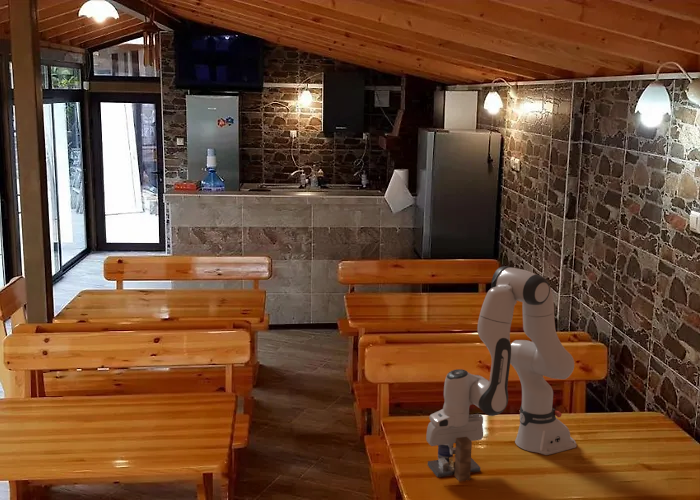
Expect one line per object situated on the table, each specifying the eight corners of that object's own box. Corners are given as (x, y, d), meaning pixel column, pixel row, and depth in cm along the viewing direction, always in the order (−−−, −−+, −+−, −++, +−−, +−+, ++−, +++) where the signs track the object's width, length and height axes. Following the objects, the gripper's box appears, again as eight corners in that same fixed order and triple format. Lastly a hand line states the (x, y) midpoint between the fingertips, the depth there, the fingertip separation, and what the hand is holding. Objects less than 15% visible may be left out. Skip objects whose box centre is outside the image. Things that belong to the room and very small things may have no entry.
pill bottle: (452, 462, 269) (453, 437, 267) (437, 461, 270) (438, 435, 268) (453, 456, 274) (454, 430, 272) (438, 454, 275) (439, 429, 273)
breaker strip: (469, 459, 272) (469, 450, 271) (480, 471, 263) (480, 462, 262) (427, 465, 267) (427, 456, 267) (437, 477, 259) (437, 468, 258)
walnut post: (465, 474, 261) (466, 436, 258) (470, 480, 257) (471, 441, 254) (454, 475, 260) (455, 438, 257) (459, 481, 256) (460, 443, 253)
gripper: (479, 409, 267) (477, 446, 270) (425, 415, 261) (424, 452, 264) (487, 416, 261) (485, 453, 264) (432, 423, 256) (430, 461, 258)
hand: (454, 453), depth 264 cm, fingers closed
